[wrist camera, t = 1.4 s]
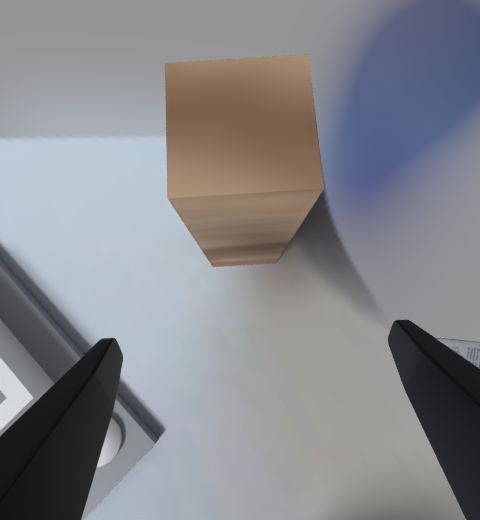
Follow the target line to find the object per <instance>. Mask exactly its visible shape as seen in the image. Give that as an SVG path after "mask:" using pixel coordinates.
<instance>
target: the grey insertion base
mask: <svg viewBox="0 0 480 520" xmlns="http://www.w3.org/2000/svg"><path fill="white" fill-rule="evenodd" d="M83 356H84V354H83V353H82V351H81V350H80V349H79V348H78V347H77V346H76V345H75V343H74V342H73V341H72V340H71V339H70V338H69V337H68V335H67V334H66V333H65V332H64V331H63V330H62V329H61V327H60V326H59V325H58V324H57V323H56V322H55V321H54V319H53V318H52V317H51V316H50V315H49V314H48V313H47V311H46V310H45V309H44V308H43V307H42V306H41V305H40V303H39V302H38V301H37V300H36V299H35V298H34V297H33V296H32V294H31V293H30V292H29V291H28V290H27V289H26V288H25V286H24V285H23V284H22V283H21V282H20V281H19V280H18V278H17V277H16V276H15V275H14V274H13V273H12V272H11V270H10V269H9V268H8V267H7V266H6V265H5V264H4V262H3V261H2V260H1V259H0V436H1V435H2V434H3V433H4V432H5V431H6V430H7V429H8V428H9V427H10V426H11V425H12V424H13V423H14V422H15V421H16V420H17V419H18V418H19V417H20V416H21V415H22V414H24V413H25V412H26V411H27V410H28V409H29V408H30V407H31V406H32V405H33V404H34V403H35V402H36V401H37V400H38V399H39V398H40V397H41V396H42V395H43V394H44V393H45V392H46V391H47V390H48V389H49V388H51V387H52V386H53V385H54V384H55V383H56V382H57V381H58V380H59V379H60V378H61V377H62V376H63V375H64V374H65V373H66V372H67V371H68V370H69V369H70V368H71V367H72V366H73V365H74V364H75V363H76V362H78V361H79V360H80V359H81V358H82V357H83ZM157 441H158V438H157V437H156V436H155V435H154V433H153V432H152V431H151V430H150V429H149V428H148V427H147V425H146V424H145V423H144V422H143V421H142V420H141V419H140V417H139V416H138V415H137V414H136V413H135V412H134V411H133V410H132V408H131V407H130V406H129V405H128V404H127V403H126V402H125V400H124V399H123V398H122V397H121V396H120V395H119V394H118V392H117V395H116V401H115V406H114V410H113V413H112V417H111V420H110V424H109V427H108V431H107V434H106V437H105V441H104V444H103V448H102V451H101V454H100V458H99V461H98V465H97V468H96V471H95V475H94V478H93V482H92V485H91V488H90V492H89V495H88V499H87V502H86V505H85V509H84V512H83V516H82V519H81V520H84V519H85V518H86V517H87V516H88V515H89V514H90V512H91V511H92V510H93V509H94V508H95V507H96V506H97V505H98V504H99V503H100V502H101V501H102V500H103V499H104V498H105V497H106V496H107V494H108V493H109V492H110V491H111V490H112V489H113V488H114V487H115V486H116V485H117V484H118V483H119V482H120V481H121V480H122V479H123V478H124V476H125V475H126V474H127V473H128V472H129V471H130V470H131V469H132V468H133V467H134V466H135V465H136V464H137V463H138V462H139V461H140V460H141V458H142V457H143V456H144V455H145V454H146V453H147V452H148V451H149V450H150V449H151V448H152V447H153V446H154V445H155V443H156V442H157Z"/></svg>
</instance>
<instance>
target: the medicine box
mask: <svg viewBox="0 0 480 520" xmlns="http://www.w3.org/2000/svg"><path fill="white" fill-rule="evenodd" d="M436 339H437V340H439V341H440V342H442V343H443V344H445V345H446V346H448V347H449V348H451V349H452V350H453V351H455V352H456V353H458V354H459V355H461V356H462V357H464V358H465V359H467V360H468V361H469V362H471V363H472V364H474V365H475V366H477V367H478V368H480V342H474V341H464V340H455V339H444V338H436Z"/></svg>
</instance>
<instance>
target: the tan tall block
mask: <svg viewBox="0 0 480 520" xmlns="http://www.w3.org/2000/svg"><path fill="white" fill-rule="evenodd" d="M165 80H166V140H167V197H168V200H169V201H170V203H171V204H172V206H173V207H174V209H175V210H176V212H177V213H178V215H179V216H180V218H181V219H182V221H183V222H184V224H185V225H186V227H187V229H188V230H189V232H190V233H191V235H192V236H193V238H194V239H195V241H196V242H197V244H198V245H199V247H200V248H201V250H202V251H203V253H204V254H205V256H206V257H207V259H208V260H209V262H210V263H211V265H212V266H213V267H221V266H237V265H253V264H269V263H276V262H277V261H278V259H279V258H280V256H281V255H282V253H283V252H284V250H285V248H286V247H287V245H288V244H289V242H290V241H291V239H292V238H293V236H294V235H295V233H296V231H297V230H298V228H299V227H300V225H301V224H302V222H303V221H304V219H305V217H306V216H307V214H308V213H309V211H310V210H311V208H312V207H313V205H314V204H315V202H316V200H317V199H318V197H319V196H320V194H321V193H322V191H323V190H324V182H323V174H322V166H321V157H320V149H319V141H318V132H317V124H316V116H315V108H314V99H313V91H312V83H311V75H310V66H309V58H308V54H304V55H288V56H272V57H256V58H241V59H225V60H209V61H194V62H177V63H166V64H165Z"/></svg>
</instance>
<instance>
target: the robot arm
mask: <svg viewBox="0 0 480 520" xmlns="http://www.w3.org/2000/svg"><path fill="white" fill-rule="evenodd" d="M388 344H389V347H390V350H391V352H392V355H393V358H394V361H395V364H396V367H397V369H398V372H399V375H400V378H401V381H402V384H403V386H404V389H405V391H406V393H407V396H408V398H409V400H410V402H411V404H412V406H413V408H414V410H415V413H416V415H417V417H418V419H419V421H420V423H421V425H422V427H423V429H424V431H425V434H426V436H427V438H428V440H429V442H430V444H431V446H432V448H433V450H434V453H435V455H436V457H437V459H438V461H439V463H440V465H441V467H442V469H443V472H444V474H445V476H446V478H447V480H448V482H449V484H450V486H451V488H452V490H453V493H454V495H455V497H456V499H457V501H458V503H459V505H460V507H461V509H462V512H463V514H464V516H465V518H466V520H480V368H478V367H477V366H475V365H474V364H472V363H471V362H469V361H468V360H467V359H465V358H464V357H462V356H461V355H459V354H458V353H456V352H455V351H453V350H452V349H451V348H449V347H448V346H446V345H445V344H443V343H442V342H440V341H439V340H437V339H436V338H434V337H433V336H432V335H430V334H429V333H427V332H426V331H424V330H423V329H421V328H420V327H418V326H417V325H416V324H414V323H413V322H411V321H409V320H396V321H394V323H393V325H392V328H391V330H390V333H389V336H388ZM122 362H123V354H122V352H121V349H120V347H119V345H118V343H117V340H116V339H115V338H103V339H101V340H99V341H98V342H97V343H96V344H95V345H94V346H93V347H92V348H91V349H90V350H89V351H88V352H87V353H86V354H85V355H84V356H83V357H82V358H81V359H80V360H79V361H78V362H76V363H75V364H74V365H73V366H72V367H71V368H70V369H69V370H68V371H67V372H66V373H65V374H64V375H63V376H62V377H61V378H60V379H59V380H58V381H57V382H56V383H55V384H54V385H53V386H52V387H51V388H49V389H48V390H47V391H46V392H45V393H44V394H43V395H42V396H41V397H40V398H39V399H38V400H37V401H36V402H35V403H34V404H33V405H32V406H31V407H30V408H29V409H28V410H27V411H26V412H25V413H24V414H22V415H21V416H20V417H19V418H18V419H17V420H16V421H15V422H14V423H13V424H12V425H11V426H10V427H9V428H8V429H7V430H6V431H5V432H4V433H3V434H2V435H1V436H0V520H81V519H82V516H83V512H84V509H85V505H86V502H87V499H88V495H89V492H90V488H91V485H92V482H93V478H94V475H95V471H96V468H97V465H98V461H99V458H100V454H101V451H102V448H103V444H104V441H105V437H106V434H107V431H108V427H109V424H110V420H111V417H112V413H113V410H114V406H115V401H116V395H117V390H118V384H119V379H120V373H121V368H122Z"/></svg>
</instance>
